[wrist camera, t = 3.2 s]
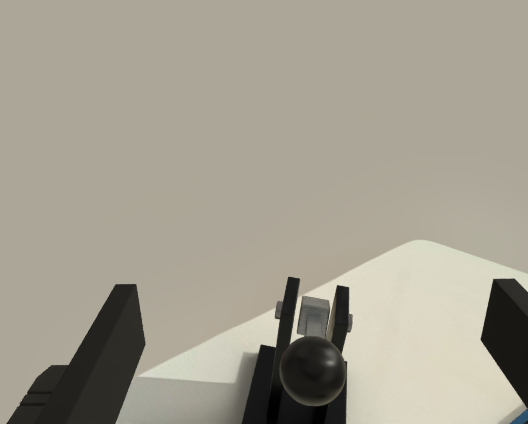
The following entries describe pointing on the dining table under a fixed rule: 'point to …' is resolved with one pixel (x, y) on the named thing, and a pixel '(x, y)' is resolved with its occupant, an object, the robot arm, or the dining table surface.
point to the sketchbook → (521, 418)
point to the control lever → (313, 358)
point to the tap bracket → (268, 368)
